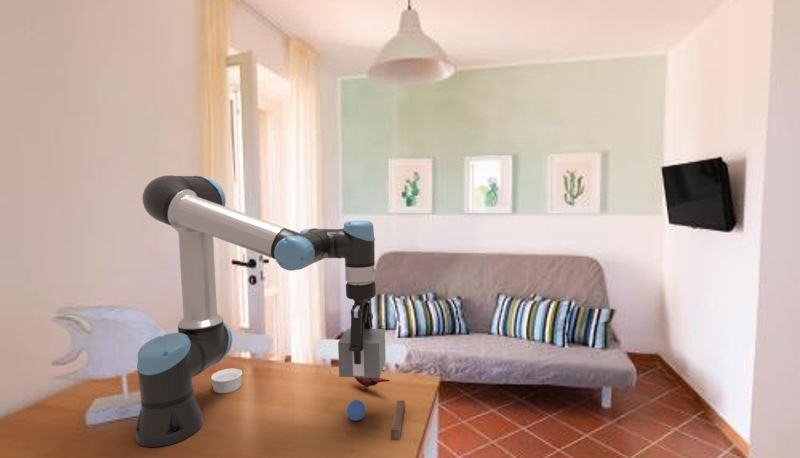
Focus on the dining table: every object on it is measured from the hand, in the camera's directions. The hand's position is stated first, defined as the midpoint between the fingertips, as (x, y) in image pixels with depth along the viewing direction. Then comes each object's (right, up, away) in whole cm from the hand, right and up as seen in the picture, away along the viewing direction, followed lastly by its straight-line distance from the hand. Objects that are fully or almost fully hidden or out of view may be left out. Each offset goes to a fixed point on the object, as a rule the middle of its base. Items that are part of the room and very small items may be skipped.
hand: (363, 365), depth 109 cm
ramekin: (-44, -14, +21) cm, 51 cm away
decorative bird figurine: (0, -13, +17) cm, 21 cm away
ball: (-2, -12, +1) cm, 12 cm away
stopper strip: (+9, -15, -1) cm, 17 cm away
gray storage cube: (0, -1, 0) cm, 1 cm away
